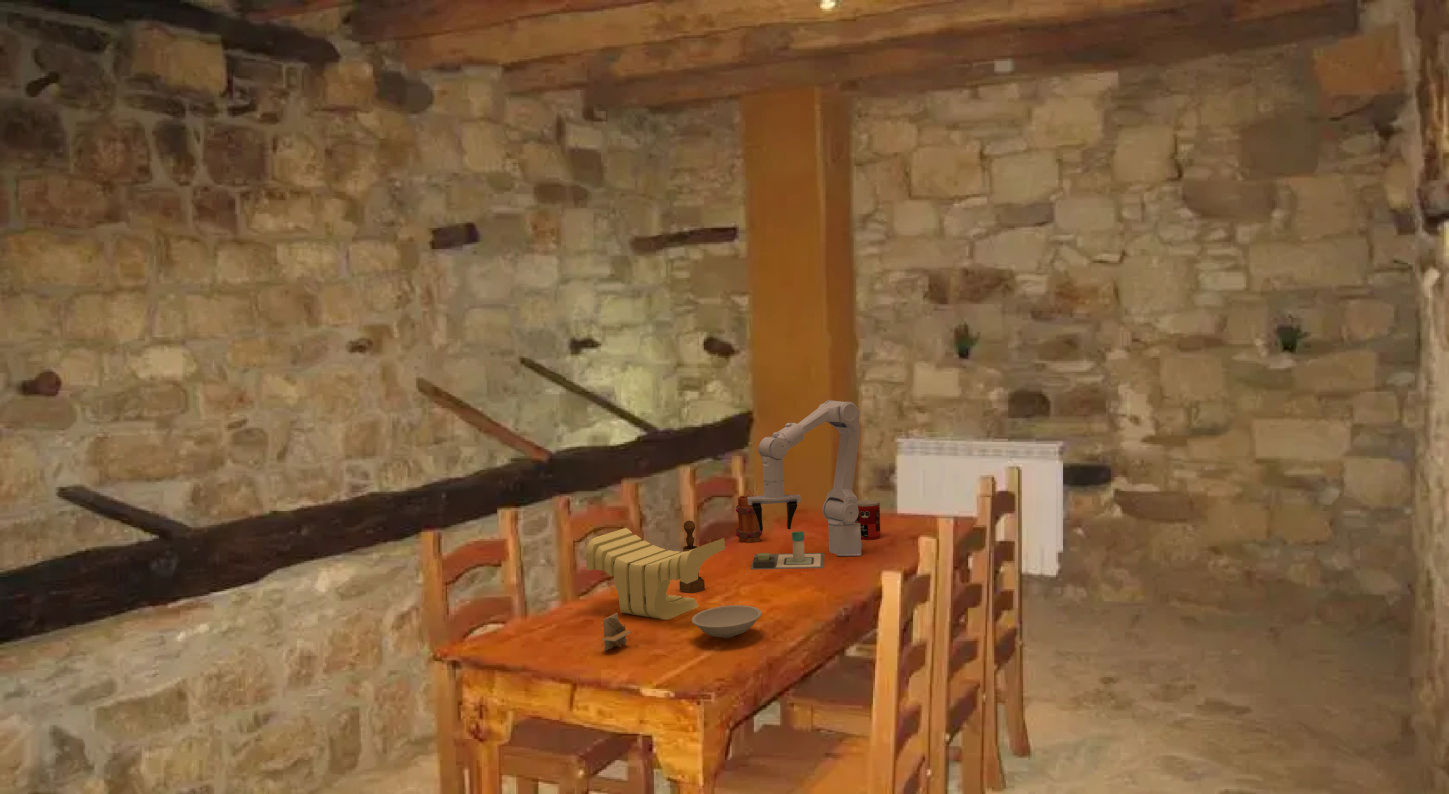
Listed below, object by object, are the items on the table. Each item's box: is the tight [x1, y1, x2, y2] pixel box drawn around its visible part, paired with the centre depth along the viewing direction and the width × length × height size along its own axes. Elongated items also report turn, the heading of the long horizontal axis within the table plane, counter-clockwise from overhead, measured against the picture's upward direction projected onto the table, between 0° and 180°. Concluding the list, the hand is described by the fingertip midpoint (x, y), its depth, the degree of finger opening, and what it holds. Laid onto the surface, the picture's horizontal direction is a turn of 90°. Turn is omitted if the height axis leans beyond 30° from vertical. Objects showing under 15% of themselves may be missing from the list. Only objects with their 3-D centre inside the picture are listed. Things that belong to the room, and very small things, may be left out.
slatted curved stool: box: [585, 527, 726, 620], centre depth 277 cm, size 30×16×18 cm, turn 56°
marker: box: [791, 530, 805, 562], centre depth 319 cm, size 3×3×8 cm
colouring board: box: [750, 552, 825, 571], centre depth 320 cm, size 20×18×3 cm
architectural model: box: [601, 612, 632, 652], centre depth 249 cm, size 3×7×7 cm, turn 153°
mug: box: [735, 489, 763, 544], centre depth 352 cm, size 15×8×15 cm, turn 179°
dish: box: [691, 604, 763, 639], centre depth 254 cm, size 18×14×5 cm
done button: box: [757, 552, 770, 561], centre depth 316 cm, size 3×3×2 cm
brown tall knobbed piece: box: [678, 520, 705, 594], centre depth 296 cm, size 7×6×18 cm
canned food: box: [855, 499, 881, 541], centre depth 350 cm, size 8×8×11 cm
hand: (775, 529), depth 316 cm, fingers open, 7 cm apart
